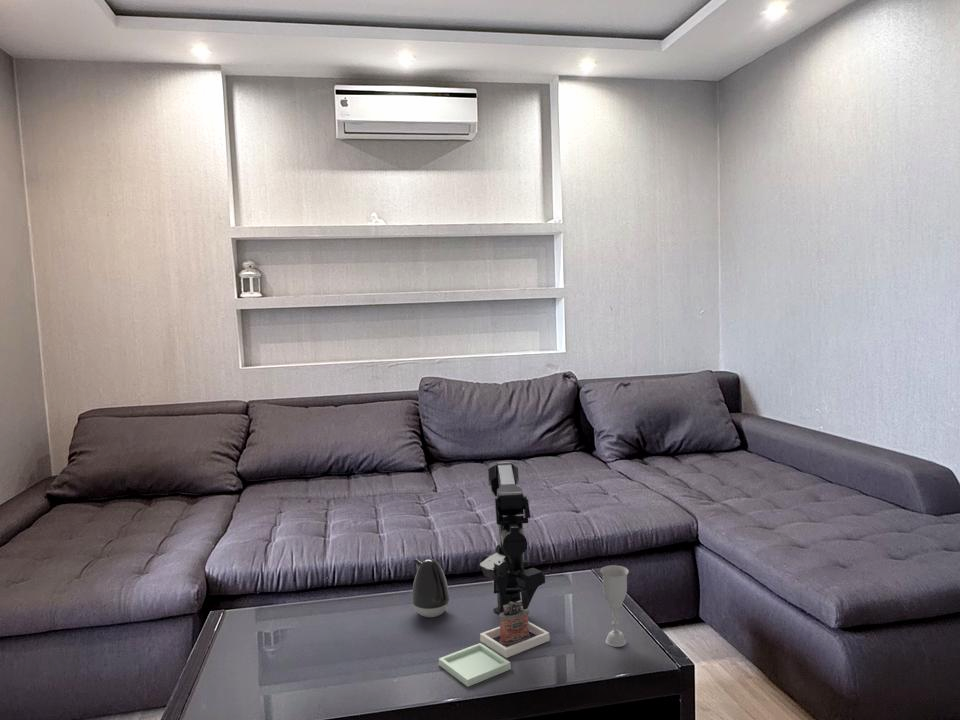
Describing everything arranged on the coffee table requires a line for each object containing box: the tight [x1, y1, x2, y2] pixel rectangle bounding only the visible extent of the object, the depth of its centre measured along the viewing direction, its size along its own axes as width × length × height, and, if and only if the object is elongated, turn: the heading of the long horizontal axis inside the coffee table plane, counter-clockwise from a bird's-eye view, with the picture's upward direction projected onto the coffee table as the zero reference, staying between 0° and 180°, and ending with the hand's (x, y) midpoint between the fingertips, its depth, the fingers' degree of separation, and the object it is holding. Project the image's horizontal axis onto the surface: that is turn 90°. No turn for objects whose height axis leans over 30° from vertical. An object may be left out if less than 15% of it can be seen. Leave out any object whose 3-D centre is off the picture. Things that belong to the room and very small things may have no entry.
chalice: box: [600, 564, 629, 648], centre depth 173 cm, size 7×7×18 cm
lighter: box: [498, 599, 530, 648], centre depth 175 cm, size 8×3×10 cm, turn 117°
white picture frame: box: [479, 620, 550, 659], centre depth 176 cm, size 11×14×2 cm
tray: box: [438, 642, 512, 687], centre depth 164 cm, size 12×12×2 cm
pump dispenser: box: [411, 558, 450, 618], centre depth 193 cm, size 10×10×15 cm
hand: (513, 602), depth 175 cm, fingers open, 9 cm apart
